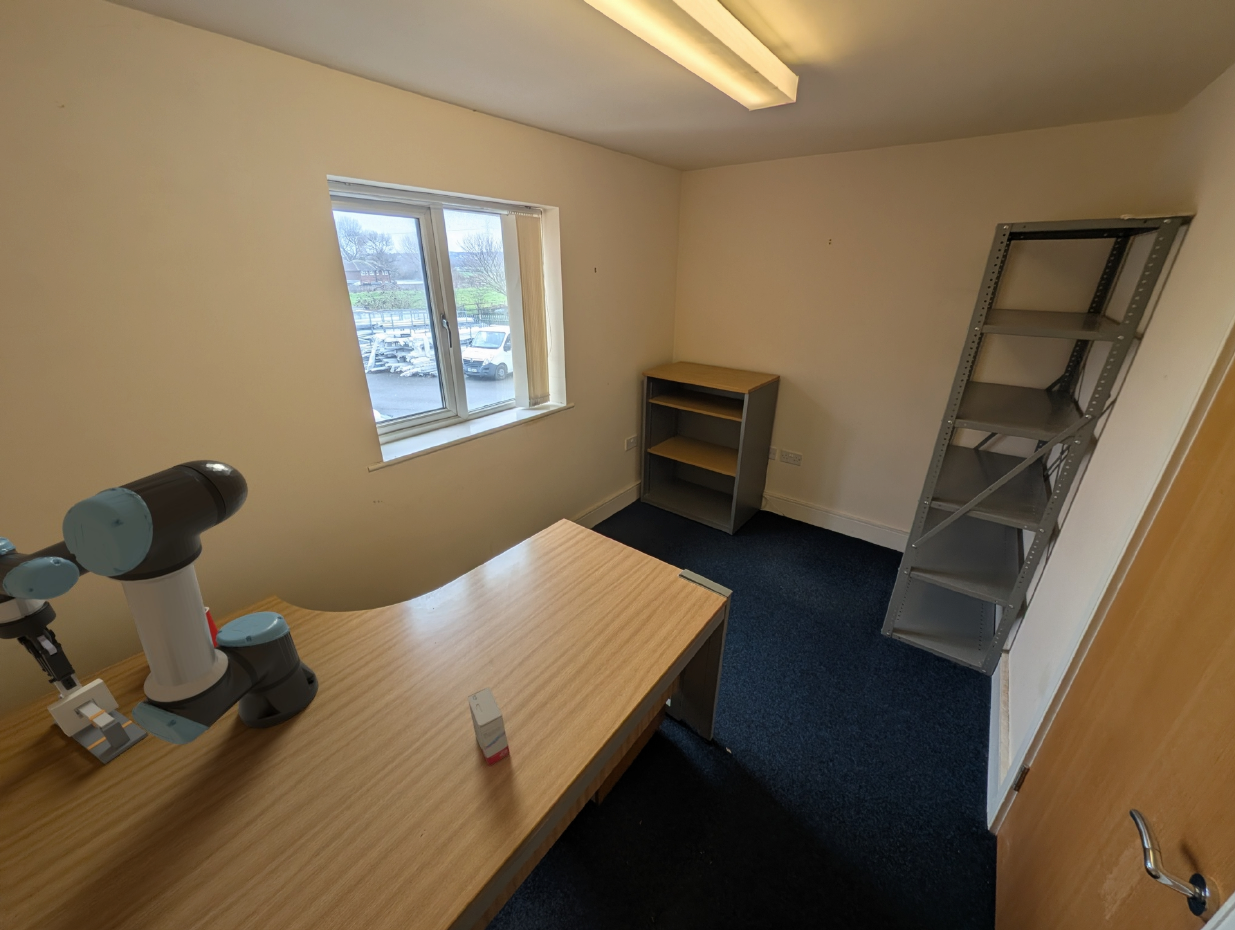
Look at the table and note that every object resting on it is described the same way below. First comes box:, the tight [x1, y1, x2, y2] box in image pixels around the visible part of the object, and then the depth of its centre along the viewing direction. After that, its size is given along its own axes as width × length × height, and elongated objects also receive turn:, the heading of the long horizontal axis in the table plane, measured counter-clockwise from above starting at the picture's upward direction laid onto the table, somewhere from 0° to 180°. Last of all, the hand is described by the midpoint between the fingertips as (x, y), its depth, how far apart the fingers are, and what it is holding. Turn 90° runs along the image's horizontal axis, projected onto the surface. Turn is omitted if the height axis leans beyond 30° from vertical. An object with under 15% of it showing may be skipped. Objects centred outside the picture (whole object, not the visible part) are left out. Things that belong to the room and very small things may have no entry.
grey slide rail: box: [52, 693, 149, 765], centre depth 99 cm, size 23×7×7 cm, turn 66°
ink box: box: [467, 686, 510, 767], centre depth 94 cm, size 9×5×12 cm, turn 33°
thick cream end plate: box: [46, 678, 120, 738], centre depth 98 cm, size 2×8×8 cm, turn 156°
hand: (76, 696), depth 98 cm, fingers closed
